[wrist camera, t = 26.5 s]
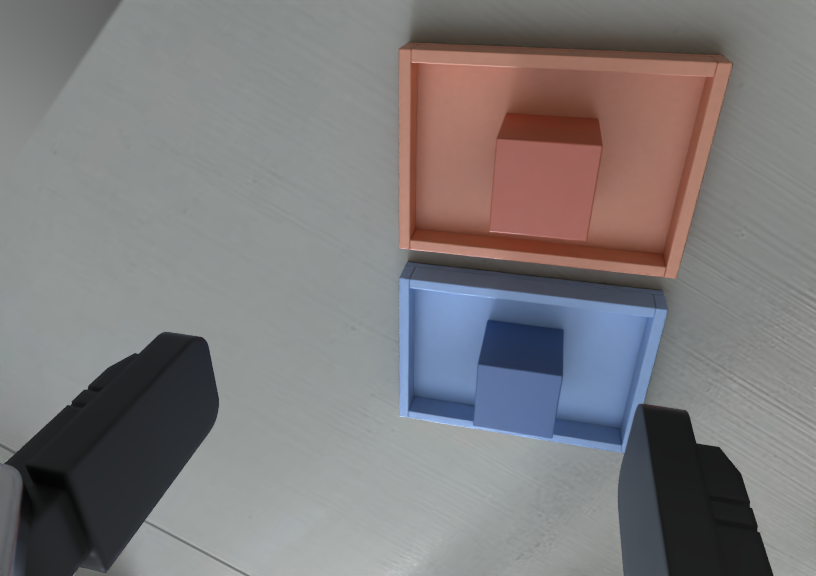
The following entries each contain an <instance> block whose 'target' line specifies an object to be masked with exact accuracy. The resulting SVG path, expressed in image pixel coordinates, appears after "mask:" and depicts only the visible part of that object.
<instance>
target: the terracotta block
mask: <svg viewBox="0 0 816 576" xmlns="http://www.w3.org/2000/svg"><path fill="white" fill-rule="evenodd" d="M602 150H603V143H602V136H601V130H600V124H599V119H596V118H580V117H564V116H547V115H531V114H514V113H506V114H505V117H504V119H503V122H502V125H501V127H500V130H499V133H498V135H497V138H496V148H495V160H494V173H493V186H492V198H491V211H490V224H489V231H490V232H500V233H510V234H520V235H530V236H540V237H550V238H560V239H570V240H580V241H587V238H588V232H589V226H590V221H591V215H592V209H593V203H594V197H595V191H596V185H597V179H598V173H599V168H600V162H601V156H602Z"/></svg>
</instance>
